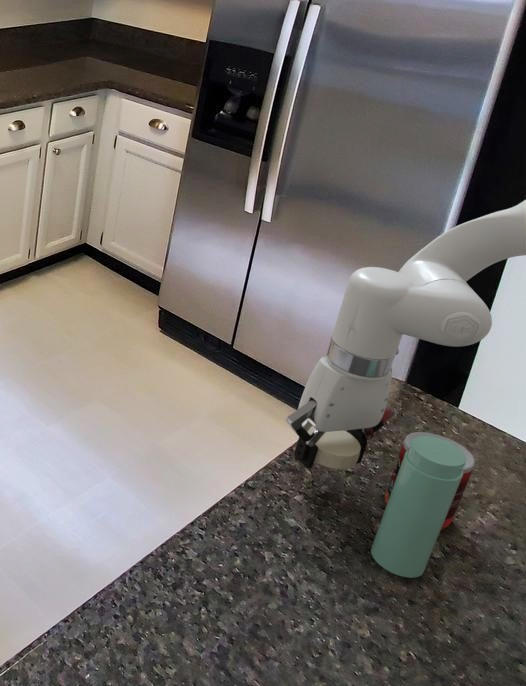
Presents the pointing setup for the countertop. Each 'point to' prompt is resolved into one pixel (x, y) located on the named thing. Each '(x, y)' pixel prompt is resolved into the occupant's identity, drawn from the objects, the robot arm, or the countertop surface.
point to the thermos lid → (337, 449)
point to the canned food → (463, 483)
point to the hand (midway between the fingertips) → (326, 458)
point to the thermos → (418, 506)
